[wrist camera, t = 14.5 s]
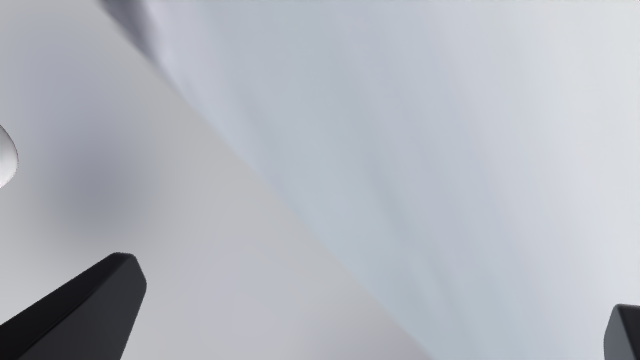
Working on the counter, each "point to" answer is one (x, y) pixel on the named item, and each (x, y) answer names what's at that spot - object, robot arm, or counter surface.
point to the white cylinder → (7, 158)
